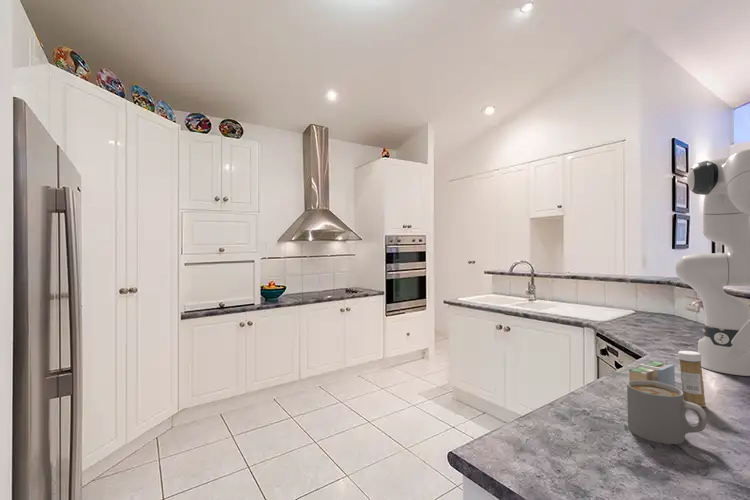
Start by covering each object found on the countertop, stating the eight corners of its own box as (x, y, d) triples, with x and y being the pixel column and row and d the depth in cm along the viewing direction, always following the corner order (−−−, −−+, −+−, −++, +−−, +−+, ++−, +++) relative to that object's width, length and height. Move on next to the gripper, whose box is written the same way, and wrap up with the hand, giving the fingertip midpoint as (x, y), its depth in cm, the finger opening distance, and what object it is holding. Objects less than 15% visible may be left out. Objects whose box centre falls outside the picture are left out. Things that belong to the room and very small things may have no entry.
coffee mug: (620, 430, 81) (619, 386, 81) (638, 418, 87) (637, 376, 87) (698, 457, 70) (696, 406, 70) (712, 441, 76) (711, 394, 76)
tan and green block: (652, 385, 108) (651, 361, 108) (668, 389, 104) (668, 364, 104) (629, 395, 100) (629, 369, 100) (646, 400, 97) (645, 373, 97)
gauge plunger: (654, 388, 105) (653, 358, 105) (675, 393, 100) (674, 362, 101) (640, 394, 100) (639, 364, 100) (661, 400, 96) (660, 368, 96)
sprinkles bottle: (708, 404, 93) (704, 352, 94) (701, 409, 91) (696, 355, 91) (686, 399, 97) (682, 349, 98) (679, 403, 95) (674, 352, 95)
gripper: (783, 295, 88) (740, 333, 95) (752, 310, 78) (707, 352, 85) (816, 312, 83) (768, 352, 91) (788, 331, 74) (737, 373, 81)
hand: (738, 352), depth 88 cm, fingers open, 8 cm apart
